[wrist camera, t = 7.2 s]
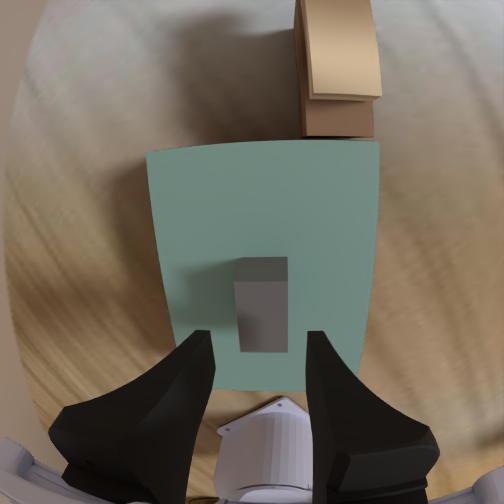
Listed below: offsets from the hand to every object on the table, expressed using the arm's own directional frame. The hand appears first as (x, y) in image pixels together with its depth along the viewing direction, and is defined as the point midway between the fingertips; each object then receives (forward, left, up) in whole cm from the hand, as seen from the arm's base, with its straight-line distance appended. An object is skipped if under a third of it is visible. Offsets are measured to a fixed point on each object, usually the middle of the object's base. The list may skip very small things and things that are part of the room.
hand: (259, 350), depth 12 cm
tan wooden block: (+12, +8, -5) cm, 16 cm away
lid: (0, 0, -6) cm, 6 cm away
